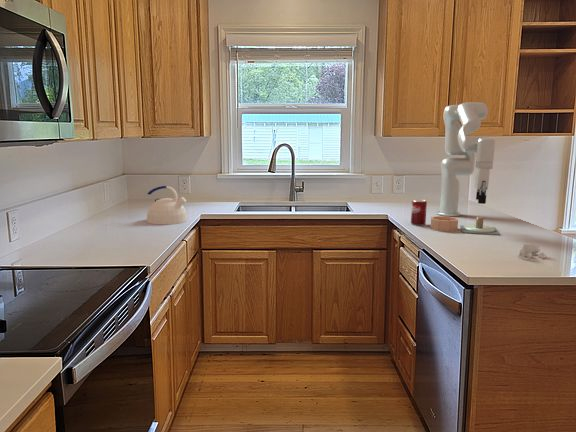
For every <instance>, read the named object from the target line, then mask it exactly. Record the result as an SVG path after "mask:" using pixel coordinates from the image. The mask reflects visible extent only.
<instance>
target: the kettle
mask: <svg viewBox="0 0 576 432" xmlns="http://www.w3.org/2000/svg"><path fill="white" fill-rule="evenodd" d="M162 189H168V190H170V191H171V192H172V195H173V198H171V197H165V198H164V197H163V198H155V200H154V202H153V203H152V204H151V205H150V206H149V208H148V211H147V213H146V223H148V224H149V225H150V224H151V225H163V226H164V225H165V226H166V225H177V224H179V225H180V224H183V223H185V222H187V221H188V217H187V210H186V209H185V207H184V205H185V203H187V199H186V198H185V197H183V196H182V197H180V198H179V197H178V196H179V195H178V192H177V191H176V190H175V188H174V187H172V186H168V185H162V186H157V187H154V188H153V189H151V190H149V191H148V193H147V195H152V194H153V193H154V192H157V191H158V190H162Z"/></svg>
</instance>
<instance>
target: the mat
mask: <svg viewBox="0 0 576 432" xmlns="http://www.w3.org/2000/svg"><path fill="white" fill-rule="evenodd" d="M464 226H465V225H461V224H460V225H459V228H460V230H461V233H462V234H468V235H469V234H472V235H473V234H474V235H488V236H489V235H490V236H500V235H501V234H500V232H499V231H498V229H497V227H495V226H492V227H493V228H495V232H489V233H481V232H472V231H467V230H465V229H463V228H464Z"/></svg>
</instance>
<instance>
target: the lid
mask: <svg viewBox="0 0 576 432" xmlns="http://www.w3.org/2000/svg"><path fill="white" fill-rule="evenodd" d="M484 218H485V217H483V216H476V218H475V219H476V221H475V224H469V225H467V224H466V225H463V226H464V228H463V229H465V230H467V231H472V232H481V233H489V232H495V228H496V227H495V228H493V227H494V226H489V225H484Z"/></svg>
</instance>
